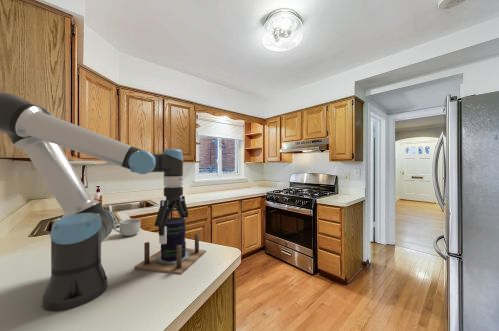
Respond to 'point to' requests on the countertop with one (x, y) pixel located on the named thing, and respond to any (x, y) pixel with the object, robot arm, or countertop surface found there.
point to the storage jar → (174, 239)
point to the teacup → (129, 227)
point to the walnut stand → (174, 266)
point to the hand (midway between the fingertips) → (173, 237)
